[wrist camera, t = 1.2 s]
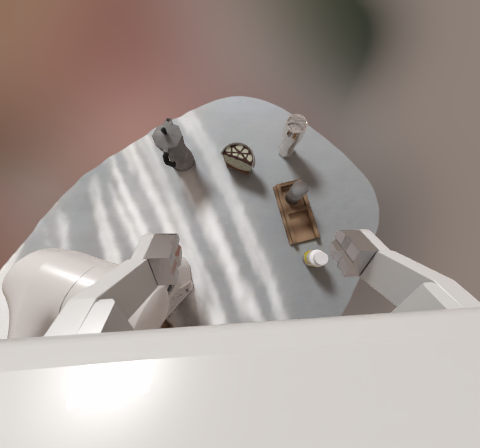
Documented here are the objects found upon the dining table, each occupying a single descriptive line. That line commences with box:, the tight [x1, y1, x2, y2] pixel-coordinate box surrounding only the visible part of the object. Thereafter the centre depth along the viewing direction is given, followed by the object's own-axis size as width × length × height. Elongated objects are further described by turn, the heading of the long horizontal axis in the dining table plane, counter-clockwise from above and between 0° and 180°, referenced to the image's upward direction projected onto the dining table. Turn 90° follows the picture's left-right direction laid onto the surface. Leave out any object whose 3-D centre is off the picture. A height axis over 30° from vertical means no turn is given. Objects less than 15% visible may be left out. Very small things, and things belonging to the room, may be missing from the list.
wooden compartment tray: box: [273, 179, 320, 244], centre depth 62 cm, size 22×11×11 cm, turn 14°
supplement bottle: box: [303, 250, 328, 267], centre depth 60 cm, size 5×5×10 cm
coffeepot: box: [152, 118, 194, 171], centre depth 63 cm, size 15×9×18 cm, turn 0°
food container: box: [221, 143, 255, 176], centre depth 66 cm, size 12×6×10 cm, turn 66°
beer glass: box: [278, 114, 307, 158], centre depth 64 cm, size 7×7×15 cm
